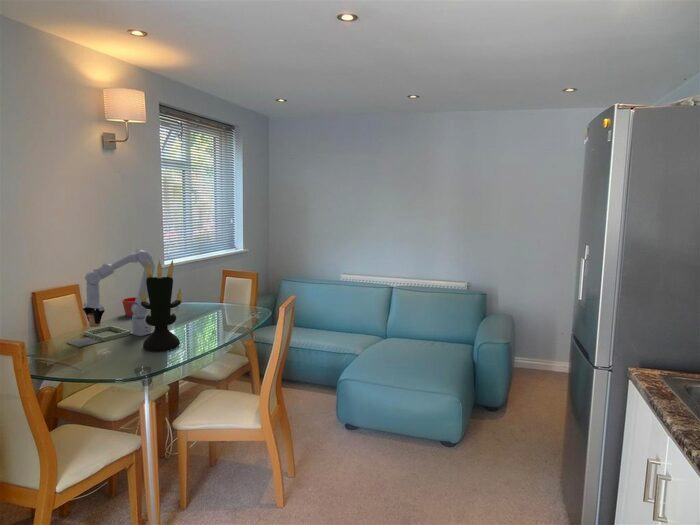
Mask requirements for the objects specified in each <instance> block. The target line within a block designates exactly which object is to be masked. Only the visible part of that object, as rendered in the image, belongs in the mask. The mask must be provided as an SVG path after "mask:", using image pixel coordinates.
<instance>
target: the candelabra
mask: <svg viewBox="0 0 700 525" xmlns="http://www.w3.org/2000/svg"><path fill="white" fill-rule="evenodd" d="M146 274H147V277H148V278H147V279H146V285H147V291H148V301H147V302H146V294H145V292H144V289H143V292H142V294H141V305H142V306H143V307H144V308H146V309H147V310H150V313H148V314H147V316H146V319H145V321H146V323H147V324H148V325H151V327H154V331H152V332H153V333H150V334H149V335H148V336H147V337H146V338H145V340H144V341H143V344H142V347H143V349H145V351H148V352H155V353H156V352H157V353H158V352H160V351H161V352H167V350H169V351H172V350H175V349H177V348H178V347H179V346H180V344H181V342H180V339H179V338H178V336H176V334H174V333H172V332H171V331H170V330H169V327H168V326H170V325H174V323H175V322H176V321H177V316H176V314H175V313H174V312H172V311H171V309H174V308H177V307H178V306H180V305H181V304H182V303H183V295H182V294H183V293H182V289H181V287H179V289H178V291H177V293H176V300H174V301H172V295H173V294H172V293H173V288H174V287H173V285H174V278H173V275H174V259H172V260H171V263H170V264H169V267H168V269H167V273H166V276H163V267H162V264H161V259H158V263H157V267H156V274H157V275H156V276H157V277H156V276H155V277H154V276H153V277H152V269H151V266H150V264H149V262H148V260H147V264H146ZM176 347H177V348H176ZM174 348H175V349H174ZM171 349H172V350H171Z"/></svg>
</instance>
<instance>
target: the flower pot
mask: <svg viewBox="0 0 700 525" xmlns="http://www.w3.org/2000/svg"><path fill="white" fill-rule="evenodd" d="M136 298H137V297H135V296H134V297H126V298H123V299H122V304H123V310H124V313H125V316H126V315H127V316H126V317H129V316H133V314H134V313H133V312H132V311H131V307H132V305H133V304H134V303H135V300H136Z"/></svg>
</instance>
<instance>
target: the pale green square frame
mask: <svg viewBox="0 0 700 525" xmlns="http://www.w3.org/2000/svg"><path fill="white" fill-rule="evenodd" d="M109 329H111V330H109ZM105 330H107V331H113V332H117V331H118V332H117V333H114V334H110V335H105V336H103V335H99V334H97V333H95V332H99V333H101V332H100V331H103V332H106V331H105ZM120 332H121V333H120ZM131 332H132V331H131V330H128V329H125V328H121V327H119V326H114V325H106V326H103V327H98V328H97V327H96V328H93V329H89V330H85V331H83V336H84V335H86V336H85V337H87V336H90V338H91V337H92V338H93V339H94V338H95V339H96V340H97V339H98V340H101V342H103V341H104V342H107V341H111V340H115V339H119V338H123V337H126V335H127V336H131V335H132V334H131ZM93 333H94V334H93ZM130 334H131V335H130ZM122 336H123V337H122ZM118 337H119V338H118ZM114 338H115V339H114ZM106 340H107V341H106Z"/></svg>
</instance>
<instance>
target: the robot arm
mask: <svg viewBox="0 0 700 525" xmlns="http://www.w3.org/2000/svg"><path fill="white" fill-rule="evenodd" d="M147 260H148V262H149V264H150V266H151V269H152V277H154V274H155V270H156V269H155V268H156V266H155V263H154V260H153V256H151V254H150V253H149V252H148V251H146V250H144V249H142V248H141V249H136V250H135V251H132V252H129V253H128V254H126V255H125V256H122V257H121V258H119V259H118V260H116V261H114V262H112V263H103V264H102V266H100V267H98V268H96V269H92V271H88V272H87V273H86V274H85V277H84V279H85V281H86V290H85V291H86V301H85V302H83V308H82V311H83V312H84V313H85V316H86V319H87V322H88V323H89V317H88V314H89V313H93V315H94V319H95V324H99V323H100V324H101V321H102V317H103V314H104V313H105V310H106V309H105V306H103V305H102V304H101V299H100V298H101V297H100V295H101V294H100V284H99V283H100V281H101V280H103V279H106V278H107V277H110V276H111V275H114V274H115V270H117V269H119V268H122V267H124V266H125V265H127V264H129V263H136V264H137V263H140V265H141V266H142V267H143V272H142V276H141V279H140V280H141V281H140V284H139V288H138V291H137V298H136V300H135V303H134V304H133V305H132V307H131V311H132V312H133V313H134V314H133V316H132V317H131V319H132V320H131V324H132V326H131V327H132V331H131V335H134V336H138V337H143V336H146V335H151V334H152V333H153V332H154V331H152V326H151V325H148V324H147V323H146V321H145V319H146V316H147V315H148V312H149V311H148V310H149V309H146V308H144V307H143V306H142V305H141V294H142V292H143V289H144V292H145V294H146V302H148V299H149V297H148V291H147V285H146V279H147V278H148V277H147V274H146V264H147Z"/></svg>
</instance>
